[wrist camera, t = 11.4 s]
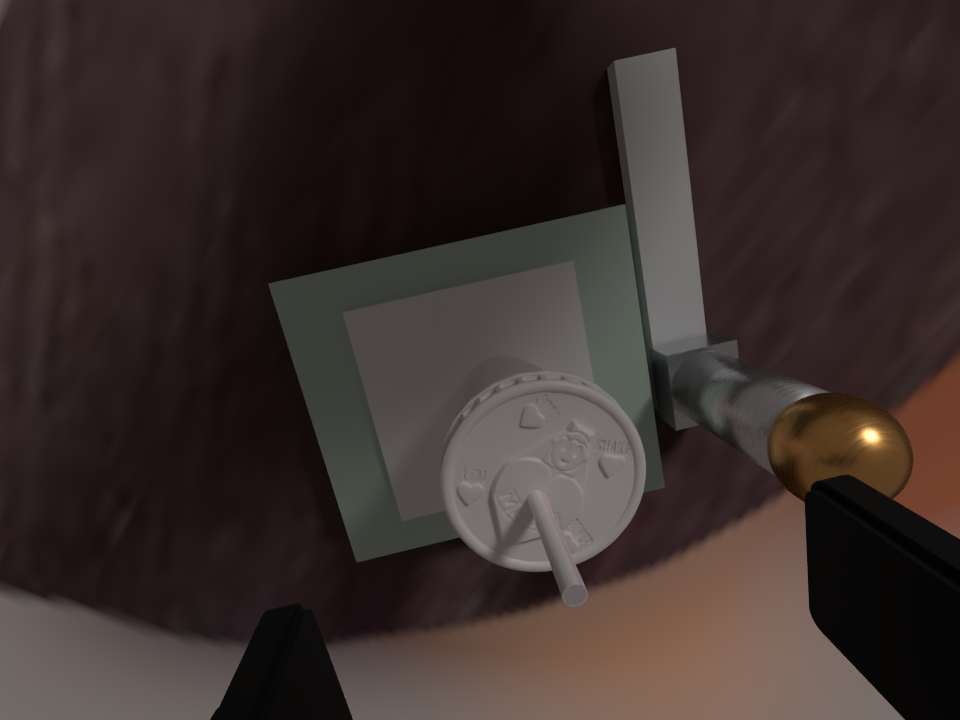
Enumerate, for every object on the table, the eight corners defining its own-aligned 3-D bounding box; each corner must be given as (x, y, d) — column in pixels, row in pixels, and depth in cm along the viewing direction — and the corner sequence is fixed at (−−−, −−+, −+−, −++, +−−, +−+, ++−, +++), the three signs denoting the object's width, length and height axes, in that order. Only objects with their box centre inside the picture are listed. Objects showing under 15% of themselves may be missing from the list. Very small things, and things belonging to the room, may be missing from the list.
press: (242, 145, 23) (215, 131, 21) (665, 56, 24) (697, 29, 21) (363, 535, 28) (354, 568, 26) (710, 451, 29) (740, 474, 26)
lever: (645, 348, 26) (820, 432, 14) (718, 332, 26) (951, 401, 14) (655, 418, 27) (827, 551, 15) (725, 401, 27) (949, 520, 15)
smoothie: (413, 412, 24) (382, 628, 10) (482, 300, 23) (549, 376, 9) (521, 473, 25) (622, 737, 12) (592, 368, 24) (791, 523, 11)
